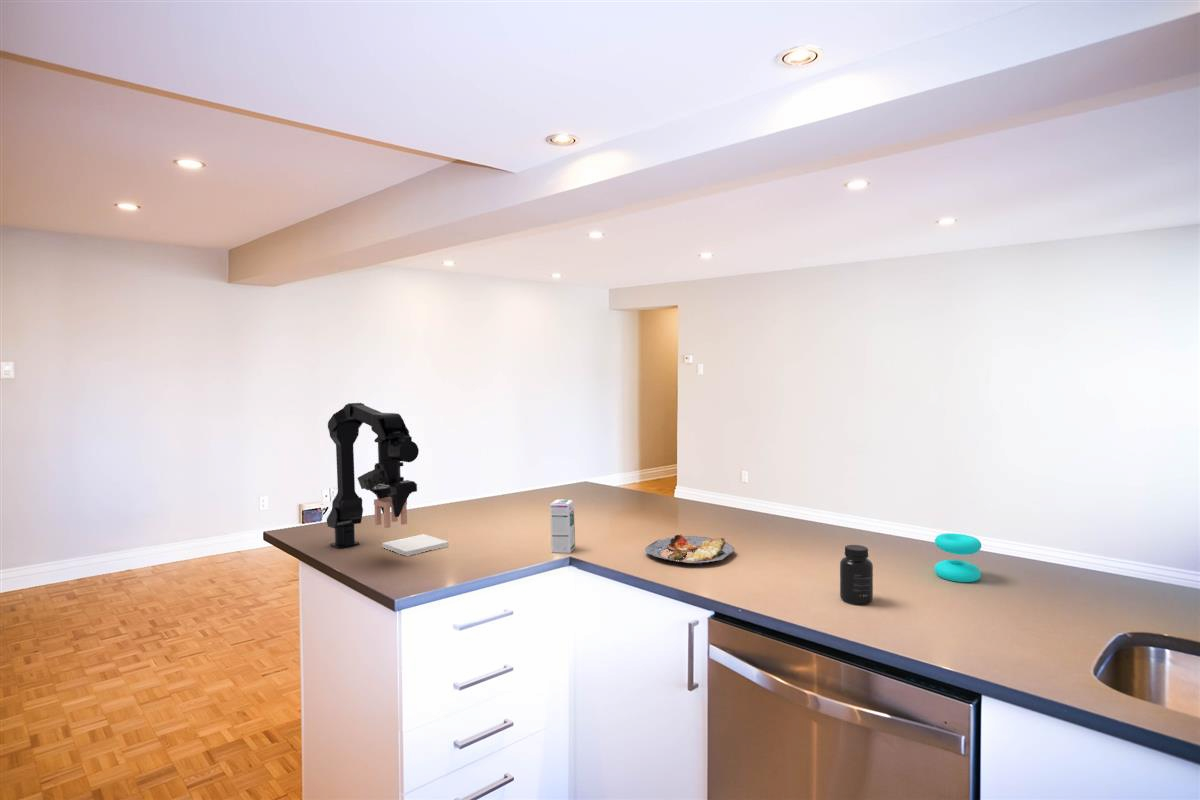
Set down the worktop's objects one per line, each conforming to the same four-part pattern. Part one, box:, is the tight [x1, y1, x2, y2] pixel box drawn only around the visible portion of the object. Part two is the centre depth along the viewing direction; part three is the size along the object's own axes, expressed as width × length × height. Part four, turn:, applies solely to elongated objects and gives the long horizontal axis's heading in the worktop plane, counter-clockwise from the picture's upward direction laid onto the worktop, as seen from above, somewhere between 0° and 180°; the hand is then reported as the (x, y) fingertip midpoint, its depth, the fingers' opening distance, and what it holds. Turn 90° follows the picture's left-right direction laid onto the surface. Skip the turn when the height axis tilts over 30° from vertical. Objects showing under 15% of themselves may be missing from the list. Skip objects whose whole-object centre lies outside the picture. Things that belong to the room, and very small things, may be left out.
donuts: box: [934, 532, 982, 583], centre depth 157 cm, size 10×10×10 cm
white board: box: [381, 533, 450, 557], centre depth 191 cm, size 14×14×2 cm
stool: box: [373, 497, 408, 529], centre depth 177 cm, size 6×6×7 cm
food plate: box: [644, 534, 736, 565], centre depth 180 cm, size 25×23×4 cm
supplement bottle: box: [839, 544, 874, 606], centre depth 142 cm, size 7×7×12 cm
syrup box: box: [549, 498, 576, 554], centre depth 186 cm, size 6×6×14 cm
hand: (390, 515), depth 177 cm, fingers closed on stool, 6 cm apart
